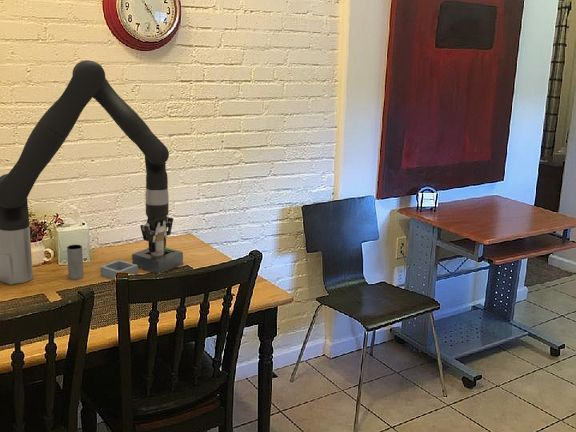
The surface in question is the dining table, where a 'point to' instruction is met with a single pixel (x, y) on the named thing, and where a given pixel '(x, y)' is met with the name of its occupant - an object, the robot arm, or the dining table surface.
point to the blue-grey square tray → (118, 268)
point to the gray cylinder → (75, 262)
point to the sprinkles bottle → (159, 243)
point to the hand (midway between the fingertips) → (157, 249)
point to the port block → (157, 260)
